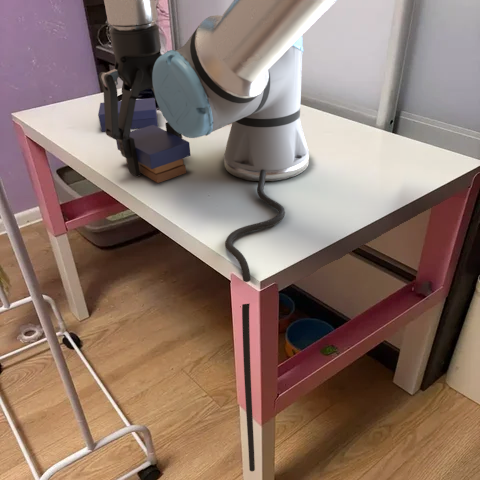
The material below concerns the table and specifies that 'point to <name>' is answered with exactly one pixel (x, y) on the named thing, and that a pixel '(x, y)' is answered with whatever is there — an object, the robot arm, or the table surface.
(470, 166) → the table surface
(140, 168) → the brown pile
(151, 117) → the navy pile
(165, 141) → the navy book
